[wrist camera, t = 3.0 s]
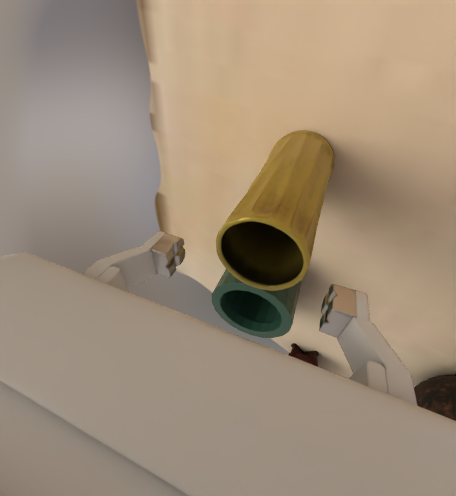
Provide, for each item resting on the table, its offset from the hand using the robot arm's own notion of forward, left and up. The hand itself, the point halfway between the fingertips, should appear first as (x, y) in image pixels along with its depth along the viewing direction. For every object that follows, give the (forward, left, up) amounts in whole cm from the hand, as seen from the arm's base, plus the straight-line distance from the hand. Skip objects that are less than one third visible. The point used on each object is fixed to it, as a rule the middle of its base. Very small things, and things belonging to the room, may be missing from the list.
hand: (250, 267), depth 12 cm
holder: (+16, -1, -15) cm, 22 cm away
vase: (0, 0, -15) cm, 15 cm away
